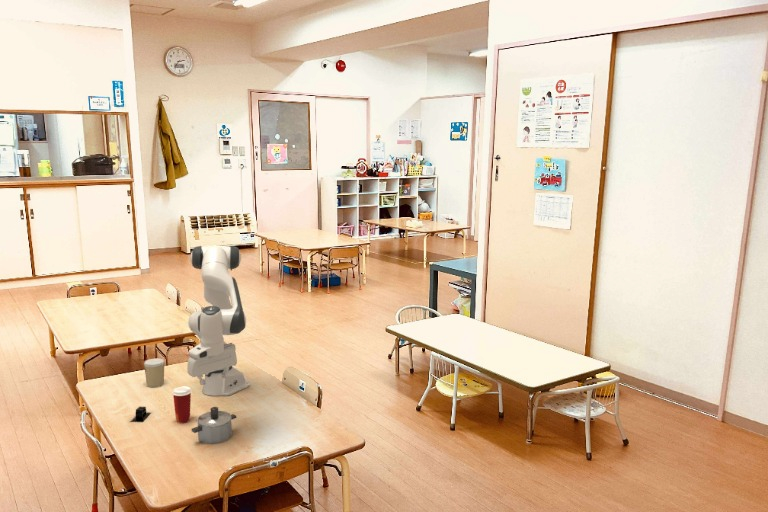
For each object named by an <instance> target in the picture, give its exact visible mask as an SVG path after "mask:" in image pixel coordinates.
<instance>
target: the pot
mask: <svg viewBox="0 0 768 512" xmlns="http://www.w3.org/2000/svg"><path fill="white" fill-rule="evenodd" d="M237 417H238V416H237V415H236V414H234V413H232V414H231V421H230V422H228V423H227V424H225V425H222V426H218V427H205V426H201V425H200V424H199V423H198V422H197V426H196V427H193V428H191V433H194V434H196V433H197V438H198V439H197V440H198V441H199V442H201V443H202V444H207V445H208V444H209V445H213V444H221V443H223V442H227V441H228V440H229V439H231V438H232V437H233V431H232V430H233V429H232V428H233V425H232V424H233V423H232V422H233V421H232V420H236V419H237Z"/></svg>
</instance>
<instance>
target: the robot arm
mask: <svg viewBox="0 0 768 512" xmlns="http://www.w3.org/2000/svg"><path fill="white" fill-rule="evenodd" d="M241 262H242V253H241V251H240V249H239V248H238V246H233V245H231V246H228V245H222V244H221V245H220V244H218V245H217V244H216V245H204V246H202V245H198V246H195V247H193V248H192V250H191V253H190V263H191V266H192V268H195V269H196V270H201V279H202V283H203V298H204V300H205V302H207V303H208V304H210V305H208V306H205V307H203V308H202V309H200V310H199V311H193V312H192V313H191V314H190V315H189V319H188V322H187V323H188V328H189V330H190V331H191V332H192V333H194V334H195V335H196V336H197V337H198V339H199V340H200V342H199V343H198V344H197V345H196V346H194V347H193V348H191V349H189V350H188V355H189V357H188V359H187V375H189V376H190V377H192V378H197V379H198V380H199V384H200V385H201V386H203V387H202V391H201V392H202V394H204V395H207V396H213V397H215V396H217V397H218V396H222V397H223V396H227V397H228V396H231V395H233V394H235V393H238V392H241V391H242V390H244V389H246V388H249V387H250V382H249V381H248V380H247V379H246V378H245V375H244V373H243V372H242V371H240V370H238V369H237V368H235V367H236V365H237V363H238V358H237V354H236V345H235V344H234V343H232V342H230V343H227V342H226V341H225V340H224V339H225V338H224V336H234V335H238V334H240V333H242V332H243V331H244V330H245V329H246V325H247V318H246V315H245V312H244V309H243V305H242V301H241V300H242V299H241V294H240V289H239V286H238V282H237V281H236V278H235V277H234V276H231V274H230V272H229V270H230V271H232V270H235V269H237V268H238V267H239V266H240V264H241ZM234 366H235V367H234ZM203 377H204V378H203Z"/></svg>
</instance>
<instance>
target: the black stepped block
mask: <svg viewBox="0 0 768 512" xmlns="http://www.w3.org/2000/svg"><path fill="white" fill-rule="evenodd" d="M151 414H152V412H147V406H138V407H136V409H135V415H134V417H133V418H132V419H131V420H130V421H129V422H130V423H144V422H145V420H147V419H148V418H149V416H150V415H151Z"/></svg>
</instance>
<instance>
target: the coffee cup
mask: <svg viewBox="0 0 768 512" xmlns="http://www.w3.org/2000/svg"><path fill="white" fill-rule="evenodd" d="M165 362H166V361H165V360H164V359H163V358H160V357H158V358H155V357H154V358H149V359H146V360H144V362H143V367H144V373H145V382H146V387H148V388H151V389H156V388H160V387H162V386H164V385H165V384H164V383H165V364H166V363H165Z"/></svg>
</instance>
